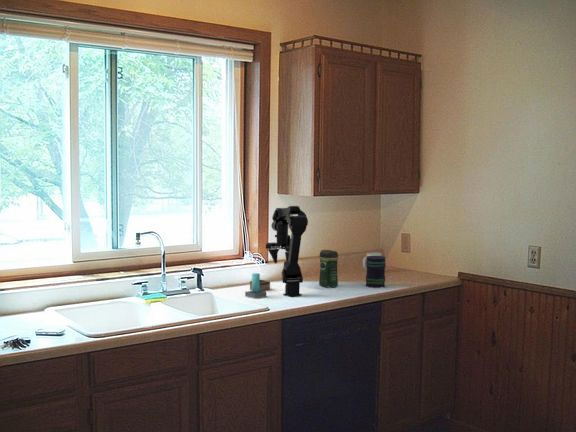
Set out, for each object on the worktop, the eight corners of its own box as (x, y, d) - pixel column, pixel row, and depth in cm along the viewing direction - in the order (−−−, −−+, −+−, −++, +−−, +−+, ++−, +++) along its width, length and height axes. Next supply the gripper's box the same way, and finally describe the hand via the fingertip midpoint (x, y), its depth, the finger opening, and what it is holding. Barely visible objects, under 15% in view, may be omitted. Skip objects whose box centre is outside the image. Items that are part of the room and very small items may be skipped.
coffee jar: (340, 287, 327) (341, 250, 326) (327, 288, 323) (328, 251, 322) (329, 284, 336) (329, 248, 334) (316, 285, 331) (317, 249, 330)
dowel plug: (259, 294, 303) (259, 273, 303) (259, 295, 300) (259, 274, 299) (251, 294, 303) (251, 273, 302) (252, 296, 300) (252, 274, 299)
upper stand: (269, 290, 318) (270, 281, 317) (259, 291, 313) (259, 283, 313) (260, 288, 323) (260, 279, 322) (249, 289, 318) (249, 281, 318)
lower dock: (266, 296, 301) (266, 292, 301) (254, 298, 297) (254, 294, 296) (256, 294, 307) (256, 290, 306) (245, 296, 302) (245, 291, 302)
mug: (374, 270, 381) (374, 252, 380) (384, 272, 374) (384, 253, 373) (358, 272, 375) (358, 253, 374) (367, 274, 368) (368, 255, 367)
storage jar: (388, 285, 333) (388, 256, 332) (380, 288, 325) (380, 259, 324) (370, 283, 338) (371, 255, 337) (362, 286, 330) (362, 257, 329)
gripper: (307, 233, 319) (306, 265, 320) (281, 230, 333) (281, 260, 334) (290, 235, 311) (290, 267, 313) (265, 231, 325) (264, 262, 326)
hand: (282, 264), depth 321 cm, fingers open, 9 cm apart
